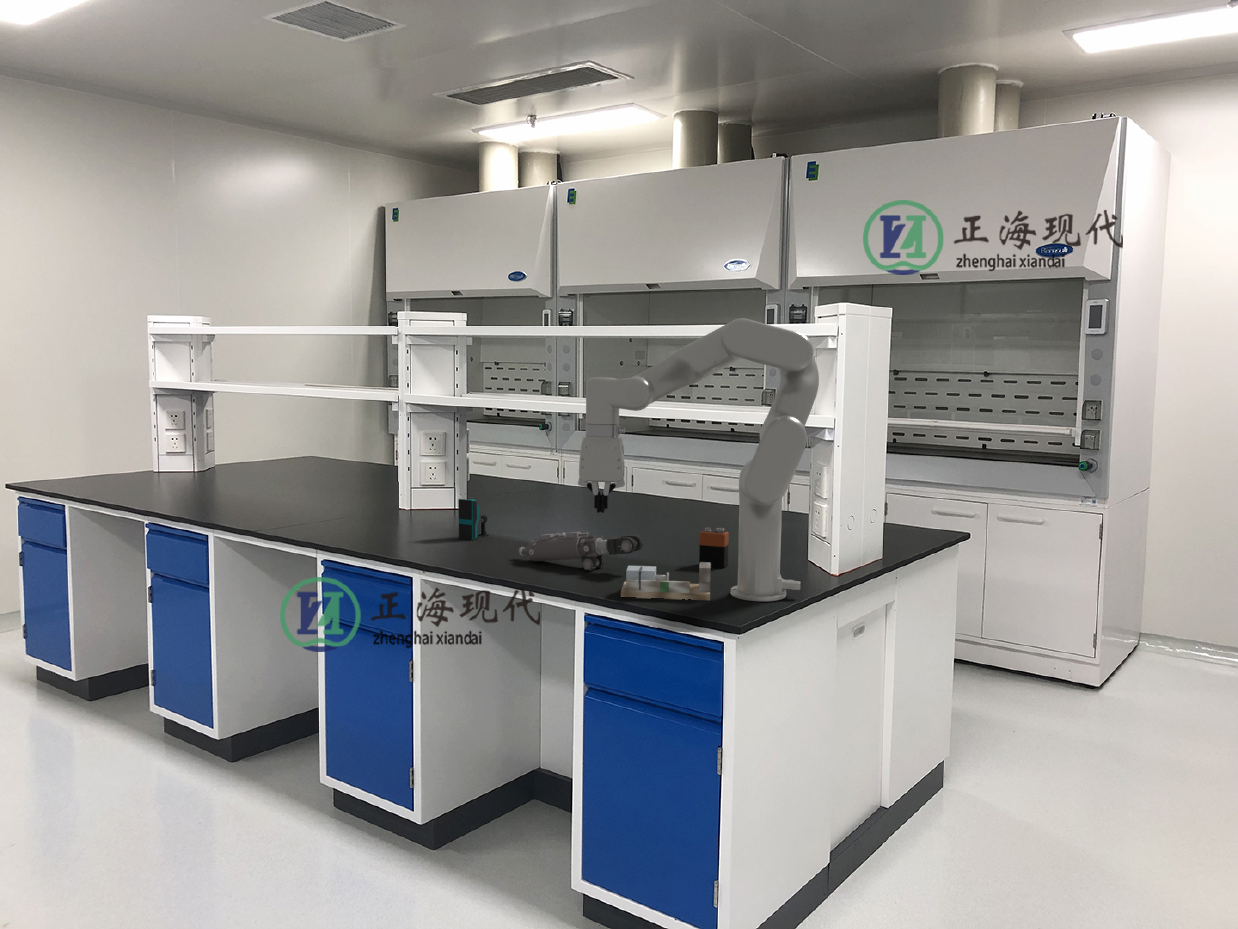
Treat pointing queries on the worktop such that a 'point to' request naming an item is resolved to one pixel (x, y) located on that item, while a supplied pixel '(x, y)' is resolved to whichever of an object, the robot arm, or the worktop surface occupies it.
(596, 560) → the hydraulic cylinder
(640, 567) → the force gauge
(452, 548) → the worktop surface
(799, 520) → the worktop surface
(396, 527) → the worktop surface
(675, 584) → the gauge stand
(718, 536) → the battery
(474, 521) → the black teal case
